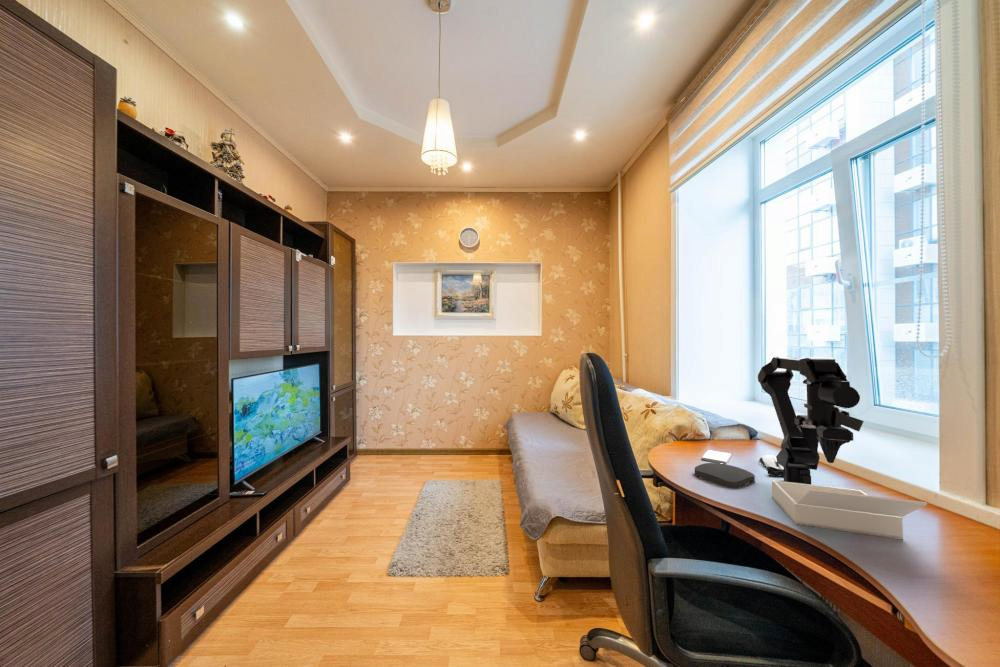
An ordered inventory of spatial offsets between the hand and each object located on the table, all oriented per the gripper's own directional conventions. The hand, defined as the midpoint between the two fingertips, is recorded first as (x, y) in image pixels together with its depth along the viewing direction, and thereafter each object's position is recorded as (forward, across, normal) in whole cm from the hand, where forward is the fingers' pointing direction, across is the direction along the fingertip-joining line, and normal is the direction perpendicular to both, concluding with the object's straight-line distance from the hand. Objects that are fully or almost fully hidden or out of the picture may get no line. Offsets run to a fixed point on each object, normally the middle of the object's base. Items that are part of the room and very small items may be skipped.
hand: (822, 457), depth 99 cm
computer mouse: (+14, +29, +2) cm, 32 cm away
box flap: (+8, -16, +2) cm, 18 cm away
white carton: (+13, -8, +2) cm, 15 cm away
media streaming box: (+14, +13, +21) cm, 28 cm away
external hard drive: (+14, +35, +20) cm, 42 cm away
